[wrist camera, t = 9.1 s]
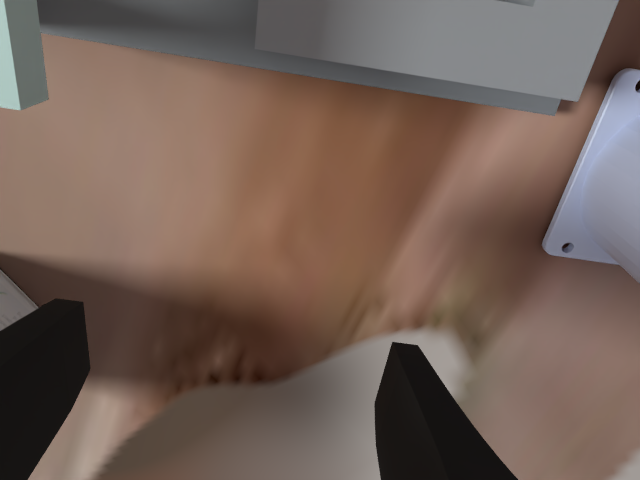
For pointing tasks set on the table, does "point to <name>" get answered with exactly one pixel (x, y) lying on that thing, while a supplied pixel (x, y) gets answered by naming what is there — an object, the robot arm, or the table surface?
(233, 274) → the table surface
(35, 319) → the robot arm
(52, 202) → the table surface
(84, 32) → the socket stand
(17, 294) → the syrup box
